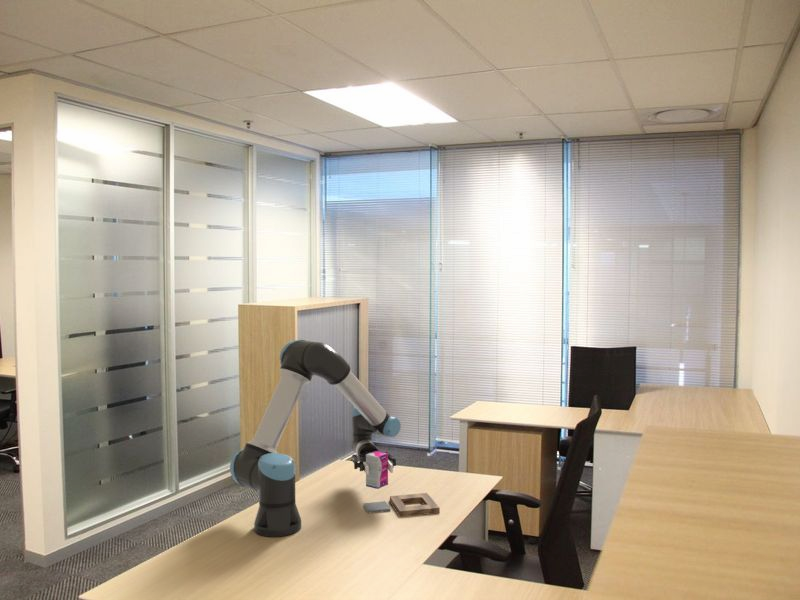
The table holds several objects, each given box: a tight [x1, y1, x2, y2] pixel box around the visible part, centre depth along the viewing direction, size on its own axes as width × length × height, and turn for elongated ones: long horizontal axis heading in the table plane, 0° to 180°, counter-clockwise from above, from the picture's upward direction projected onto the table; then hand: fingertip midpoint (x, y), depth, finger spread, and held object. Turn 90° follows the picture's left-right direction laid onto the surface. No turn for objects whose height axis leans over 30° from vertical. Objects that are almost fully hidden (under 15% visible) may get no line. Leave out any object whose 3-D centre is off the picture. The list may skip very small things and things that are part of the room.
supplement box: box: [365, 450, 389, 490], centre depth 245 cm, size 6×6×12 cm
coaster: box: [363, 500, 391, 514], centre depth 245 cm, size 8×8×1 cm
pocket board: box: [389, 492, 440, 517], centre depth 246 cm, size 14×16×2 cm
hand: (379, 469), depth 240 cm, fingers closed on supplement box, 8 cm apart
